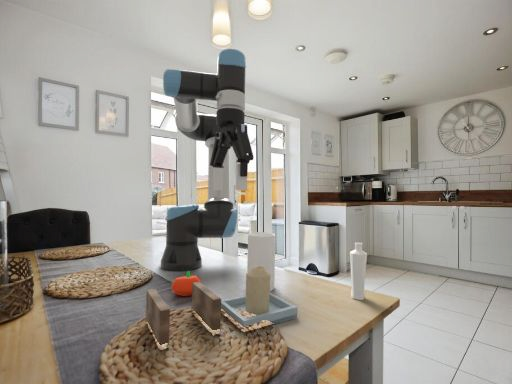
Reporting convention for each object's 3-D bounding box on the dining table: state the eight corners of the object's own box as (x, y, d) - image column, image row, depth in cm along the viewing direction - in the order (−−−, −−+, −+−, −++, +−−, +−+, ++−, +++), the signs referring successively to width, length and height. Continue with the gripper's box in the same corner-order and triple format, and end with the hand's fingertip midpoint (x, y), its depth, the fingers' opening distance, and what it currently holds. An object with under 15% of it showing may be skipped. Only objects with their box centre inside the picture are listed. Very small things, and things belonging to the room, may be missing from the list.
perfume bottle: (355, 301, 72) (356, 244, 73) (346, 295, 77) (347, 241, 77) (370, 299, 74) (371, 244, 74) (360, 294, 78) (361, 241, 78)
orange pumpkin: (169, 295, 76) (169, 271, 76) (197, 290, 79) (197, 268, 80) (174, 300, 69) (174, 274, 70) (205, 295, 73) (204, 271, 74)
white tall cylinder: (272, 293, 77) (273, 236, 77) (243, 290, 79) (245, 235, 79) (275, 284, 85) (277, 232, 85) (250, 282, 87) (251, 231, 87)
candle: (255, 304, 67) (256, 263, 67) (273, 310, 64) (274, 267, 64) (240, 311, 63) (241, 267, 63) (259, 318, 59) (260, 272, 59)
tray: (218, 311, 64) (218, 300, 64) (266, 299, 72) (267, 290, 72) (243, 333, 54) (244, 321, 54) (297, 317, 62) (297, 306, 62)
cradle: (145, 323, 58) (146, 290, 58) (198, 311, 64) (199, 281, 64) (159, 351, 48) (160, 310, 48) (220, 334, 54) (221, 298, 54)
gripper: (200, 118, 81) (198, 190, 81) (241, 93, 60) (239, 189, 60) (222, 123, 85) (221, 190, 85) (269, 100, 64) (267, 190, 64)
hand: (228, 190), depth 73 cm, fingers open, 13 cm apart
